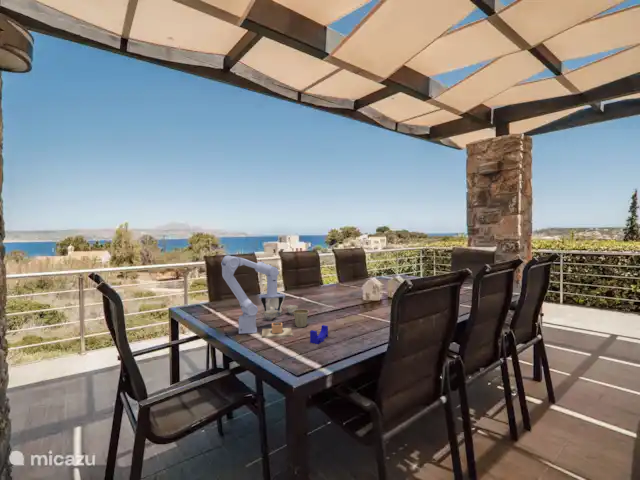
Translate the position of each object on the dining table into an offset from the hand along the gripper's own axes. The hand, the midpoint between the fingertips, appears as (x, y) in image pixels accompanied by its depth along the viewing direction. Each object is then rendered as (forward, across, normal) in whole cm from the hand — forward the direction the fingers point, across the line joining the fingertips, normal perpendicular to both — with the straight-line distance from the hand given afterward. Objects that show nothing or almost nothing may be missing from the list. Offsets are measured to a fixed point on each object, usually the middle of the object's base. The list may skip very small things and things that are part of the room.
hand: (272, 310), depth 189 cm
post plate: (+9, +3, -12) cm, 16 cm away
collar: (+8, +3, -12) cm, 15 cm away
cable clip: (+10, +25, -25) cm, 36 cm away
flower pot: (+10, +16, 0) cm, 19 cm away
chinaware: (+10, +4, +24) cm, 26 cm away
